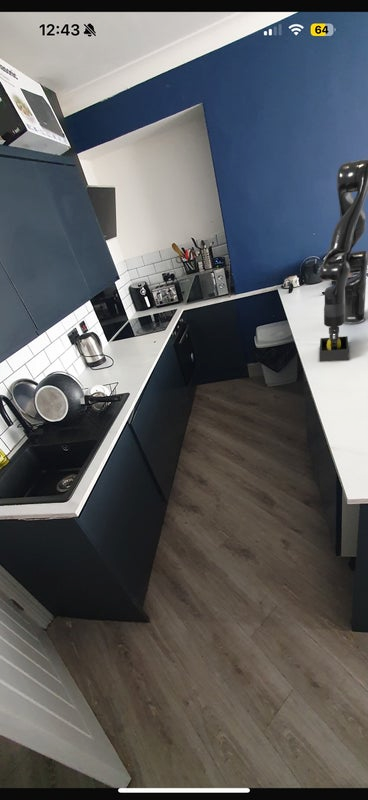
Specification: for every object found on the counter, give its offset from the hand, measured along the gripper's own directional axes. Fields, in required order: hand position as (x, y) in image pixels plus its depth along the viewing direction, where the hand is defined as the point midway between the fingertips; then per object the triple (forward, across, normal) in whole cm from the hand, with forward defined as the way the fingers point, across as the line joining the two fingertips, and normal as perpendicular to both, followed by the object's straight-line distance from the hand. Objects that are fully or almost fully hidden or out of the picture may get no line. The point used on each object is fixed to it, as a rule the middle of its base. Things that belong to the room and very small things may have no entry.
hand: (333, 350), depth 135 cm
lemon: (+2, 0, 0) cm, 2 cm away
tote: (+2, 0, 0) cm, 2 cm away
